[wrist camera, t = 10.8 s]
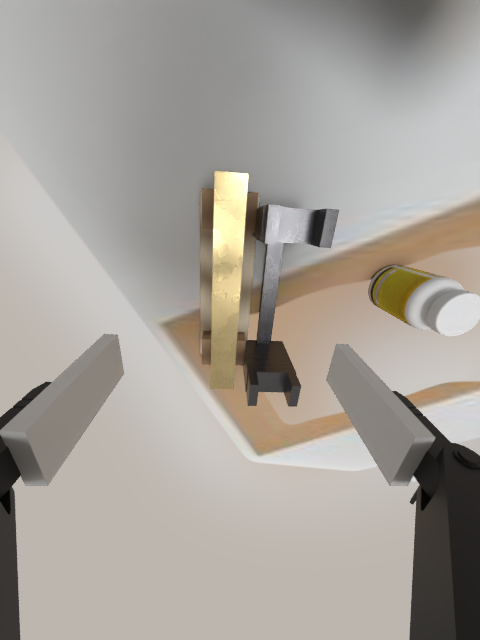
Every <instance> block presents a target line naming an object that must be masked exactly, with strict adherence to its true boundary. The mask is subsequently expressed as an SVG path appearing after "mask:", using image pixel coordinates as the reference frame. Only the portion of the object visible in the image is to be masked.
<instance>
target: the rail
mask: <svg viewBox="0 0 480 640" xmlns="http://www.w3.org/2000/svg"><path fill="white" fill-rule="evenodd" d="M247 189H248V174H245V173H233V172H222V171H215V176H214V228H213V279H212V330H211V382H210V388H212V389H234V375H235V360H236V346H237V332H238V318H239V303H240V289H241V275H242V260H243V246H244V232H245V217H246V203H247Z"/></svg>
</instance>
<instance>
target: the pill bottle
mask: <svg viewBox="0 0 480 640" xmlns="http://www.w3.org/2000/svg"><path fill="white" fill-rule="evenodd" d="M368 293H369V298H370V300H371V302H373V304H374V305H376V306H377V307H379V308H381V309H382V310H384V311H386V312H388V313H389V314H391V315H393V316H395V317H396V318H398V319H400V320H402V321H404V322H405V323H407V324H409V325H410V326H413V327H414V328H417V329H420V330H426V331H429V330H434V331H436V332H438V333H440V334H442V335H445V336H457V335H460V334H463V333H465V332H467V331H468V330H470V329H471V328H473V327H474V326H475V324H477V322H478V321H479V320H480V297H479V296H478V295H477V294H474V293H471V292H468V291H464V289H463V287H462V286H461V285H460V284H459V283H458V282H457V281H455V280H453V279H450V278H447V277H444V276H440V275H436V274H432V273H428V272H424V271H421V270H417V269H413V268H409V267H405V266H400V265H393V266H388V267H386V268H384V269H382V270H380V271H379V272H378V273H377V274H376V275H375V276H374V277H373V279H372V281H371V283H370V285H369V291H368Z"/></svg>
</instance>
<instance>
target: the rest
mask: <svg viewBox="0 0 480 640" xmlns="http://www.w3.org/2000/svg"><path fill="white" fill-rule="evenodd" d="M259 202H260V196H259V195H258V193H254V192H247V203H246V217H245V232H244V246H243V260H242V275H241V289H240V303H239V318H238V332H237V346H236V360H235V365H244V354H245V342H246V341H247V336H248V325H249V314H250V302H251V291H252V280H253V269H254V258H255V247H256V238H255V237H253V233H255V228H256V216H257V208H259ZM213 228H214V189H205V188H202V191H200V354H202V364H211V330H212V279H213Z"/></svg>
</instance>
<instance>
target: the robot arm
mask: <svg viewBox="0 0 480 640" xmlns="http://www.w3.org/2000/svg"><path fill="white" fill-rule="evenodd" d="M123 374H124V370H123V364H122V358H121V351H120V346H119V339H118V335H113V334H104V335H103V336H102V337H101V338H99V339H98V340H97V341H96V342H95V343H94V344H93V345H92V346H91V347H90V348H89V349H88V350H86V351H85V352H84V353H83V354H82V355H81V356H80V357H79V358H78V359H77V360H76V361H75V362H73V363H72V364H71V365H70V366H69V367H68V368H67V369H66V370H65V371H64V372H63V373H62V374H61V375H59V376H58V377H57V378H56V379H55V380H54V381H53V382H45V383H44V384H42V385H40V386H38V387H36V388H34V389H33V390H31V391H30V392H29V393H28V394H27V395H26V396H25V397H23V398H22V400H20V401H19V402H18V403H16V404H15V405H14V406H13V408H11V409H10V410H8V411H7V412H6V413H5V414H4V415H3V416H1V417H0V640H20V623H19V600H18V598H19V597H18V571H17V546H16V521H15V496H14V490H13V488H12V485H13V484H14V483H15V482H16V480H17V479H18V478H19V477H20V476H21V477H22V480H23V482H24V484H25V485H26V486H48V485H49V483H50V482H51V480H52V478H53V477H54V476H55V474H56V473H57V472H58V470H59V469H60V467H61V466H62V464H63V463H64V461H65V460H66V458H67V457H68V455H69V454H70V452H71V451H72V449H73V448H74V446H75V445H76V444H77V442H78V440H79V439H80V438H81V436H82V435H83V433H84V432H85V430H86V429H87V427H88V426H89V424H90V423H91V421H92V420H93V418H94V417H95V416H96V414H97V413H98V411H99V410H100V408H101V407H102V405H103V403H104V402H105V401H106V399H107V398H108V396H109V395H110V393H111V392H112V391H113V389H114V388H115V386H116V385H117V383H118V382H119V380H120V379H121V377H122V376H123ZM326 380H327V382H328V383H329V385H330V387H331V388H332V390H333V392H334V394H335V395H336V397H337V398H338V400H339V402H340V404H341V405H342V407H343V408H344V410H345V412H346V414H347V415H348V417H349V419H350V420H351V422H352V424H353V425H354V427H355V429H356V430H357V432H358V434H359V435H360V437H361V439H362V440H363V442H364V444H365V445H366V447H367V449H368V450H369V452H370V454H371V455H372V457H373V459H374V460H375V462H376V464H377V465H378V467H379V469H380V470H381V472H382V474H383V475H384V477H385V479H386V480H387V482H388V484H389V485H390V486H408V484H409V482H410V481H411V479H412V477H413V476H414V477H415V478H416V480H417V481H418V482H419V484H420V485H419V487H418V489H417V490H416V492H415V493H414V495H413V497H412V498H411V501H410V503H411V504H414V502H415V501H416V519H415V539H414V559H413V580H412V582H413V583H412V600H411V622H410V640H480V456H479V455H478V454H476V453H475V452H474V451H472V450H470V449H468V448H466V447H465V446H462V445H459V444H456V443H451V442H450V441H449V440H448V439H447V438H446V437H445V436H444V435H443V434H442V433H441V432H440V431H439V430H438V429H437V428H436V427H435V426H434V425H433V424H432V423H431V422H430V421H429V420H428V419H427V418H426V417H425V416H423V414H422V413H421V412H420V411H419V410H418V409H416V407H415V406H414V405H413V404H412V403H411V402H410V401H409V400H408V399H407V398H406V397H404V396H403V395H401V394H399V393H398V392H397V391H391V390H390V389H389V387H388V386H387V385H386V384H385V383H384V382H383V381H382V380H381V379H380V378H379V377H378V376H377V375H376V374H375V373H374V372H373V370H372V369H371V368H370V367H369V366H368V365H367V364H366V363H365V362H364V361H363V360H362V359H361V358H360V357H359V356H358V354H357V353H356V352H355V351H354V350H353V349H352V348H351V347H350V346H349V345H348V344H336V346H335V350H334V354H333V358H332V361H331V365H330V368H329V372H328V375H327V379H326Z"/></svg>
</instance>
